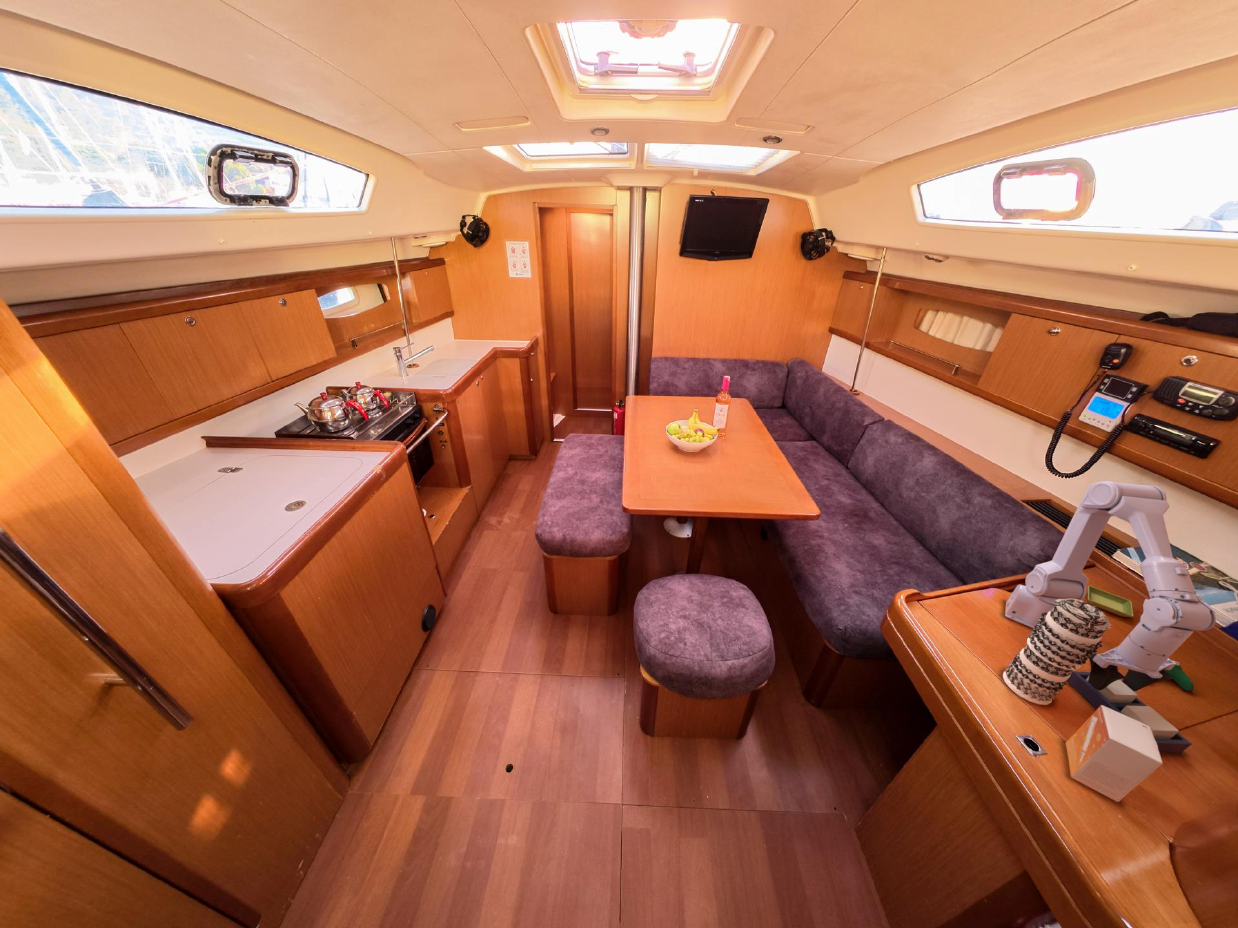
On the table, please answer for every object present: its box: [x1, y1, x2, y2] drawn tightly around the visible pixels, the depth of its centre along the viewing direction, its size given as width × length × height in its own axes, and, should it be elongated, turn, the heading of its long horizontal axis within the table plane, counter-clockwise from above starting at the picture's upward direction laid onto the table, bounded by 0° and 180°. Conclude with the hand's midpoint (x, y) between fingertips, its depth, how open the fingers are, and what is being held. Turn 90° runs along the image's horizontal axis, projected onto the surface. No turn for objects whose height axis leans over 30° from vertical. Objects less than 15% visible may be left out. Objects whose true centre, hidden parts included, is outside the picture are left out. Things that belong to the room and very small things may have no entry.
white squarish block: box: [1086, 675, 1139, 703], centre depth 88 cm, size 5×5×4 cm
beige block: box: [1121, 705, 1180, 739], centre depth 82 cm, size 5×5×4 cm
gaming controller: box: [1164, 660, 1195, 692], centre depth 94 cm, size 9×4×6 cm
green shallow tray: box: [1087, 585, 1134, 618], centre depth 115 cm, size 9×9×2 cm
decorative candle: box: [1002, 599, 1112, 706], centre depth 86 cm, size 9×9×25 cm
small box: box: [1065, 705, 1164, 803], centre depth 73 cm, size 8×6×13 cm
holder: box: [1067, 671, 1193, 754], centre depth 86 cm, size 8×15×3 cm, turn 179°
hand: (1111, 686), depth 88 cm, fingers open, 7 cm apart
